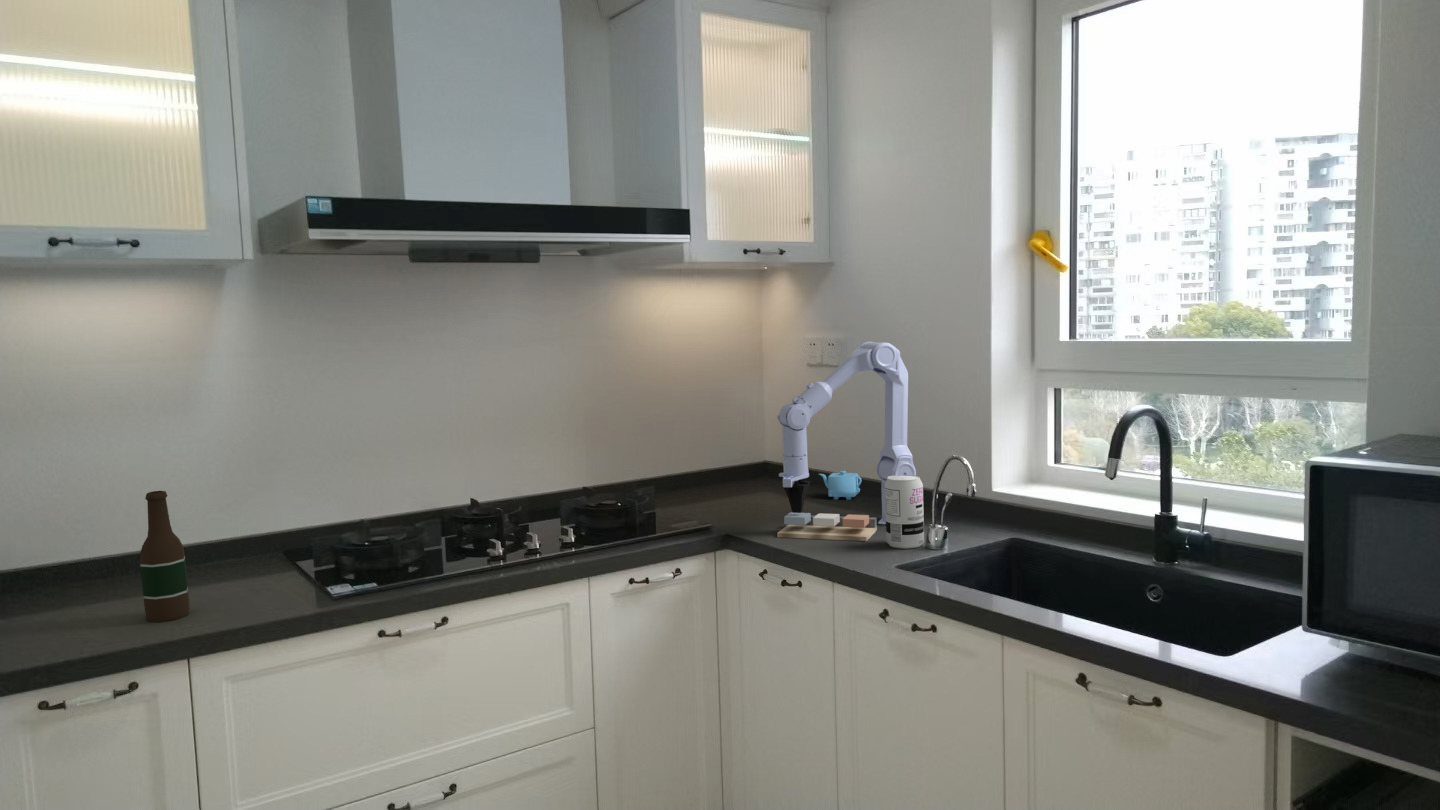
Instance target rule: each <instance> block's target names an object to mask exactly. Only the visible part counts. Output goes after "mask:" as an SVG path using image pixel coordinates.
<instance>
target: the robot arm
mask: <svg viewBox="0 0 1440 810" xmlns="http://www.w3.org/2000/svg"><path fill="white" fill-rule="evenodd" d="M905 365H906V364H904V362H903V359H902V357H901V351H900V350H899V349H898V348H896V347H895V346H894V345H893V344H891V343H889V342H874V341H866V342H864V343H862V344H861V345H860V346H859V347H857V348H855V349H854V350H853V351H852V353H850V355H848V356H847V357H846V359H844V361H842V363H840V365H838V366H837V367H836V368H835V369H834V371H832V372H831V373H830V374H828V376H827V377H826V378H825V379H823V381H814V382H813V383H812V382H809V383H808V384H807V385H806V389H805V390H804V391H802V392H801V393H800V394H799V395H798V396H796V397H795V396H794V397H793V398H792V399H791V401H792V402H791V403H787V404H785V405H783V406H782V407H781V409H780V410H779V411H780V412H779V413H778V415H777V420H778V423H779V424H780V425H781V427H782V428H781V429H782V436H781V437H782V439H781V440H782V463H783V465H782V466H783V472H779V473H778V477H780V478H782V488H783V490H784V491H785V494H786V496H787V498H788V501H789V502H788V503H789V506H790V510H791V512H792V513H803V510H804V504H805V499H806V494H807V491H808V489H809V486H810V484H811V481H810V480H804V479H807V478H809V477H810V473H809V465H808V464H809V463H808V462H809V461H808V460H809V459H808V435H807V427H808V426H809V424H810V422H811V418H813V417H814V416H815V415H816V414H817V413H818V412H819V411H820V410H821V409H823V408H824V407H825V406H826V405H827V404H828V403H829V402H831V400H832V398H833V392H835V391H836V389H838V388H840V387H841V386H842V385H844V383H846V382H847V381H848V380H850V378H852V377H853V376H855V375H856V374H857V373H858V372H866V371H873V372H875V373H876V374H877V375H878V376H879V377H880V378H881V379H883V380H884V382H885V383H884V384H885V385H884V390H885V392H884V412H885V413H884V445H883V447H882V449H881V450H880V452H879V453H880V456H879V460H878V462H877V463H876V464H877V465H876V473H877V475H878V477H879V479H881V487H880V488H881V514H882V515H881V516H882V517H881V519H879V520H878V522H877V525H886V507H885V483H886V481H887V479H888V477H889V476H893V475H915V476H917V469H916V466H915V465H914V461H913V460H914V456H913V454H912V452H911V450H910V449H909V447H908V416H909V415H908V414H909V413H908V412H909V410H908V409H909V404H908V403H909V401H908V400H909V371H908V370H907V367H906V366H905Z"/></svg>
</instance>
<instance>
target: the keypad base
mask: <svg viewBox="0 0 1440 810" xmlns="http://www.w3.org/2000/svg"><path fill="white" fill-rule="evenodd" d="M816 515H817V514H816ZM816 515H814V514H812V515H811V521H810V522H808V523H807V524H806V525H787V524H786V526H785V527H783V528H782V529H780V530H779V531H778V532H777V535H776V536H777V538H789V539H809V540H810V539H811V540H813V539H814V540H830V541H831V540H833V541H834V540H835V541H852V542H853V541H854V542H855V541H857V542H868V541H869V539H870V538H871V537H872V536H873V535H874V534H875V533H876V532H877V530H878V522H877V521H878V520H877V519H878V518H877V517H875V516H874V517H870V516H869V523H868V524H867V525H866V526H865V527H864V528H861V527H843V518H844V517H845V516H846V515H843V516H842V515H841V516H840V515H839V516H840V522H839V523H838V524H836V525H835V526H813V518H814V517H815V516H816Z"/></svg>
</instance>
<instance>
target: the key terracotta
mask: <svg viewBox="0 0 1440 810" xmlns="http://www.w3.org/2000/svg"><path fill="white" fill-rule="evenodd" d="M844 516H845V517H844V518H843V527H861V528H864V527H865V526H866V525H867V524H868V523H869V517H870V515H869V514H850V513H848V514H847V515H844Z"/></svg>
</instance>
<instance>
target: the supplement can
mask: <svg viewBox="0 0 1440 810" xmlns="http://www.w3.org/2000/svg"><path fill="white" fill-rule="evenodd" d="M885 507H886V524H885V537H886V539H885V540H886V543H887V544H888V545H889V547H892V548H895V549H905V550H906V549H915V548H919V547H921V546H922V545H923V544H924V543H925V521H924V520H925V519H924V517H925V516H924V484H923V482H922V480H921V477H920V476H918V475H916V476H915V475H893V476H889V477H888V479H887V481H886V483H885Z"/></svg>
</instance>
